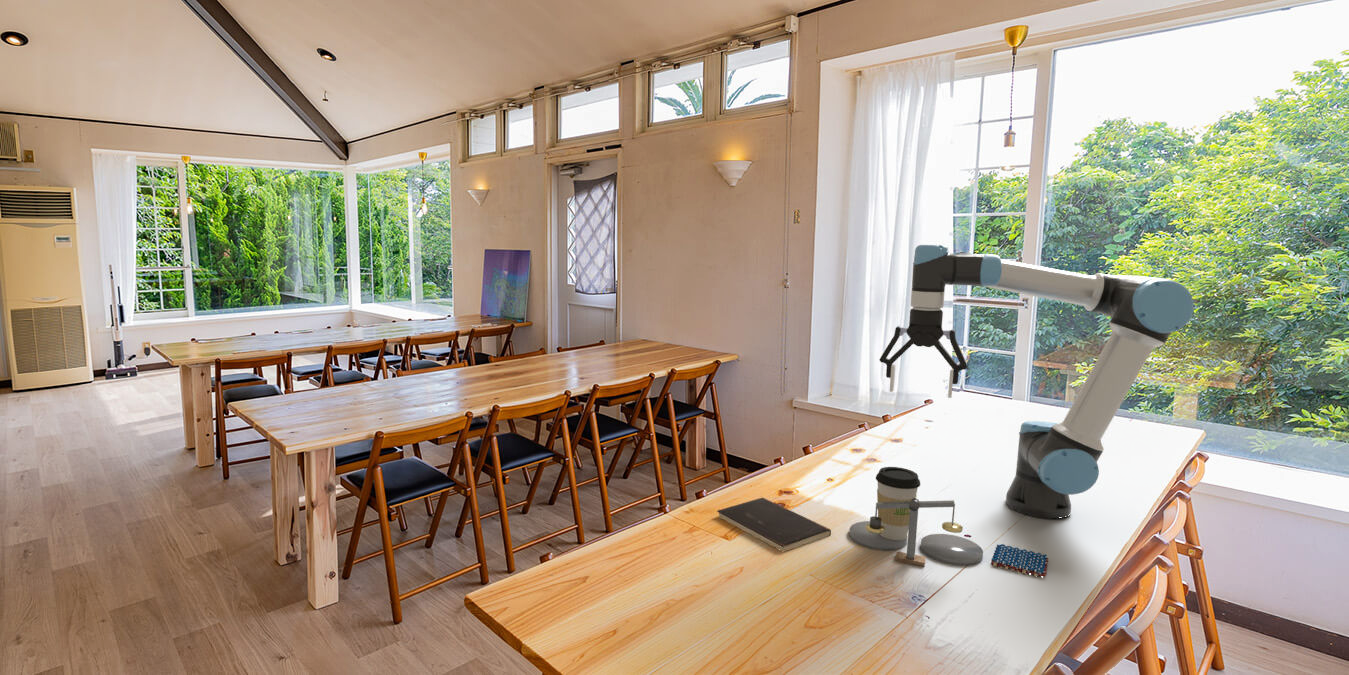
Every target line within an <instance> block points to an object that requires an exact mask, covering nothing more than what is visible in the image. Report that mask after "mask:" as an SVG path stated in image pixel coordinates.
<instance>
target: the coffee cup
mask: <svg viewBox="0 0 1349 675" xmlns="http://www.w3.org/2000/svg"><path fill="white" fill-rule="evenodd" d="M875 475H876V476H875V480H876V482H877V489H876V492H877V493H876V494H877V495H876V496H877V497H876V499H877V502H910V501H911V499H913V498H916V499H917V496H918V495H917V493H918V488H919V487H920V486H921V480H920V479H919V475H918V473H917V472H915V471H913V470H910V469H907V468H903V467H898V466H885V467H882V468H880V469H879V470H878V473H877V474H875ZM877 502H876V503H877ZM909 516H910V508H887V509H877V517H880V518H881V525H882V526H883V527H884V528H885V531H884V533H881V534H880V535H881V536H883V537H884V538H887V539H890V540H904V539H906V538H907V539H908V530H909Z"/></svg>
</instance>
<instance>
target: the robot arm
mask: <svg viewBox="0 0 1349 675" xmlns="http://www.w3.org/2000/svg"><path fill="white" fill-rule="evenodd" d="M912 264H913V265H912V280H911V281H912V283H911V291H910V294H911V295H910V307H912V308H911V309H910V310H909V322H908V324H909V325H908V327H903V326H901V325H897V326H896V327H895V330H894V335H893V337H892V338H891V340H890V341H889V343H888V345H887V346H886V348H885V349H884V351H883V353H882V354H881V356H880V358H879V362H880V363H883V364H885V365H886V374H885V376H886V378H888V379H890V381H889V392H891V393H893V392H894V390H895V382H896V381H895V380H896V379H895V378H896V366H897V365H896V364H894V363H895V362H896V361H897V360H898V358H900V357H901V356H902V355H903V354H904V353H906V352H907V350H908V349H909V348H910V347H912V345H915V346H916V347H926V348H931V347H934V348H935V349H936V350H937V351H938V352H939V353H940V354H941V356H942V357H943V358H944V360H945V361H946V362H947V363H948V365H949V366H950V367H951V369H950V370H949V382H948V393H947V399H952V394H953V385H957V384H958V383H959V376H960V375H959V372H960V371H962V370H967V369H968V363H967V361H966V359H965V357H964V355H963V352H962V350H961V348H960V345H959V343H958V340H957V338H956V330H955V329H954V328H953V329H950V330H943V319H944V318H943V317H944V311H943V310H942V309H943V307H944V304H945V303H944V301H945V287H946V286H947V285H949V286H953V285H954V286H971V287H972V286H977V287H983V288H989V289H996V290H1000V291H1006V292H1011V293H1016V294H1021V295H1026V296H1031V297H1038V298H1041V299H1047V300H1052V301H1059V302H1061V303H1062V302H1063V303H1068V304H1073V305H1077V306H1083V307H1084V309H1085V311H1087V312H1088V311H1089V312H1093V313H1097V314H1101V315H1104V316H1107V317H1110V318H1111V319H1110V321H1109V323H1108V326H1109V327H1110V331H1111V334H1110V336H1109V338H1108V340H1107V342H1106V343H1105V345H1104V347H1103V348H1102V351H1101V353H1099V356H1098V358H1097V360H1096V362H1095V363H1094V365H1093V367H1092V369H1091V370H1090V372H1089V374H1088V375H1087V377H1086V380H1085V381H1084V383H1083V385H1082V387H1081V389H1080V390H1079V392H1078V394H1077V396H1076V397H1075V400H1074V401H1073V403H1072V404H1071V407H1070V409H1069V410H1068V412H1067V414H1066V416H1065V417H1064V419H1063V421H1062V422H1061V423H1060V422H1059V423H1056V422H1049V421H1039V420H1038V421H1037V420H1034V421H1033V420H1030V421H1024V422H1022V423H1021V425H1020V430H1019V433H1018V435H1019V437H1018V449H1017V460H1016V470H1015V476H1014V478H1013V480H1012V481H1011V485H1009V488H1008V490H1007V492H1006V496H1005V503H1006V505H1007V506H1008V507H1009V508H1010V509H1012V510H1014V511H1016V512H1017V513H1018V512H1019V513H1021V514H1023V513H1024V515H1027V516H1031V517H1034V516H1035V517H1036V518H1040V517H1042V518H1041V519H1047V518H1059V517H1065V516H1068V515H1069V514H1070V513H1071V512H1072V504H1071V503H1072V502H1071V500H1070V496H1072V495H1073V496H1074V495H1079V494H1081V493H1082V494H1083V493H1084V492H1087V491H1088V490H1090V489H1091V488H1093V486H1094V485H1095V484H1096V483H1097V481H1098V478H1099V475H1100V469H1099V465H1098V463H1097V462H1098V461H1099V459H1100V458H1101V456H1102V453H1103V452H1104V446H1103V444H1102V438H1103V436H1104V434H1105V433H1106V431H1107V430H1108V428H1109V426H1110V424H1111V422H1112V421H1113V419H1114V418H1115V415H1116V414H1117V412H1118V410H1119V409H1120V407H1121V405H1122V403H1123V401H1124V399H1125V398H1126V397H1127V395H1128V393H1129V391H1130V390H1131V387H1132V386H1133V384H1134V383H1135V381H1136V379H1137V377H1138V375H1139V374H1140V372H1141V370H1142V368H1143V366H1144V365H1145V363H1146V362H1147V359H1148V358H1149V356H1150V354H1151V353H1152V351H1153V350H1154V349H1155V348H1158V347H1161V346H1164V345H1165V344H1166V343H1167V340H1168V339H1169V338H1170V335H1171V334H1172V332H1176V331H1178V330H1180V329H1182V328H1183V327H1185V326H1186V325H1187V324H1188V323H1189V322H1190V320H1191V318H1193V314H1194V310H1195V309H1194V308H1195V305H1194V304H1195V303H1194V299H1193V297H1192V294H1191V292H1190V291H1189V290H1188V288H1187V287H1185V285H1183V284H1181V283H1179V282H1177V281H1175V280H1172V279H1170V278H1169V279H1168V278H1166V277H1163V276H1162V277H1157V276H1156V277H1155V276H1154V277H1151V276H1144V275H1120V274H1117V275H1116V274H1106V273H1101V272H1096V273H1095V274H1093V275H1089V274H1085V273H1084V274H1083V273H1078V272H1073V271H1067V270H1061V269H1056V268H1050V267H1045V266H1040V265H1035V264H1034V265H1033V264H1029V263H1028V264H1027V263H1023V262H1018V261H1011V260H1006V259H1001V257H1000V256H999V254H990V253H989V254H988V253H970V252H969V253H968V252H962V251H960V252H956V253H952V252H951V253H949V247H948V246H947V245H945V244H940V245H939V244H919V245H917V246H916V247H915V249H914V256H913V262H912ZM904 334H907V336H908V337H909V340H908V341H907V342H906V343H904V344H903V345H902V347H900V348H899V350H897V351H896V352H895V353H894V354H893V355H892V356H891V357H890V358H888V356H889V355H890V353H891V351H892V350H893V348H894V347H895V344H896V343H897V342H898V340H899V339H900V336H901V337H902V336H903V335H904ZM943 336H945V338H946V340H949V341H950V345H951V346H952V349H953V351H954V353H955V355H956V358H957V360H958V362H959V364H958V363H957V362H956V360H954V358H953V357H952V356H951V355H950V353H949V352H948V351H947V349H946V348H945V347H944V345H943V344H942V342H941V341H940V340H941V338H942V337H943ZM1070 515H1071V514H1070ZM1070 515H1069V516H1070ZM1069 516H1068V517H1069Z"/></svg>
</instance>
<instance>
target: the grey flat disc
mask: <svg viewBox="0 0 1349 675" xmlns="http://www.w3.org/2000/svg"><path fill="white" fill-rule="evenodd" d="M920 549H921V551H922V552H923V553H924V554H925V555H926V556H927V557H929V558H931V559H933V560H936V561H938V562H941V563H944V564H948V565H953V566H974V565H976V564H979V563H981V562H982V560H983V558H984V550H983V548H982V547H981V546H980V545H978V544H977V543H976V542H975V541H972V540H970V539H968V538H965V537H962V536H958V535H954V534H948V533H932V534H927V535H924V536H923V537H922V538H921V541H920Z"/></svg>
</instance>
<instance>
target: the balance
mask: <svg viewBox="0 0 1349 675" xmlns="http://www.w3.org/2000/svg"><path fill="white" fill-rule="evenodd" d="M955 506H956V503H955V499H953V500H951V499H950V500H924V501H923V500H919V499H918V498H917V497H916V498H913V499H911V501H910V502H876V503H875V515H874V516H870V517H869V521H870V524H867V525H866V530H867V531H868V532H871V533H875V534H881V533H884V531H885V528H884V527H883V526H882V525H881V518H880V517H878V509H887V508H910V516H909V529H908V533H907V544H906V552H903V551H898V550H897V551H896V554H895V556H894V557H895V560H894V561H895V562H897V563H902V564H906V565H912V566H916V567H922V568H924V567H925V565H926V556H923V555H919V554H916V544H917V533H918V532H917V530H918V518H919V509H921V508H922V509H923V508H926V509H927V508H928V509H929V508H931V509H933V508H952V516H951V517H952V519H951V521H945V522H942V524H941V529H943V530H944V531H946V532H949V533H953V534H954V533H955V534H958V533H962V532H963V529H964V528H963V526H962V525H961V524H959V523H956V522H954V518H955Z"/></svg>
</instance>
